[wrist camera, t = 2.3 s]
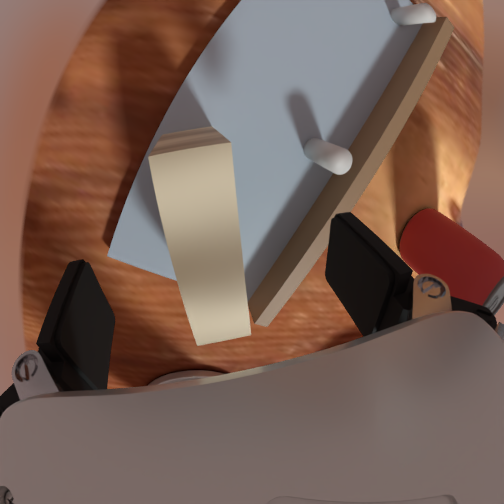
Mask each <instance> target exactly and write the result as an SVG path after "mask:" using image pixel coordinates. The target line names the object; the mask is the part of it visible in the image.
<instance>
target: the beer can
mask: <svg viewBox="0 0 504 504" xmlns="http://www.w3.org/2000/svg"><path fill="white" fill-rule="evenodd" d="M400 254H401V257H402V259H403V260H404V261H405V262H406V263H407V264H408V265H409V266H410V267H411V268H412V269H413V270H414V271H415V272H417V273H418V274H419V275H420V274H432V275H434V276H437V277H439V278H440V279H442V280H443V281H444V282H445V283H446V284H447V286H448V288H449V291H450V296H453V297H456V298H459V299H463V300H466V301H469V302H472V303H475V304H479V305H482V306H484V307H487V308H488V309H489V310H490V311H491V312H492V313H493V315H495V314H496V313H497V312H498V310H499V309H500V308H501V306H502V305H503V303H504V260H503V259H502V258H501V257H500V256H499V254H497V253H496V252H495V251H494V250H492V249H491V248H490V247H488V246H487V245H486V244H484V243H483V242H482V241H480V240H479V239H478V238H476V237H475V236H474V235H472V234H471V233H469V232H468V231H467V230H465V229H464V228H462V227H461V226H459V225H458V224H457V223H455V222H454V221H452V220H451V219H449V218H448V217H446V216H444V215H443V214H441V213H440V212H438V211H437V210H435V209H429V208H427V209H424V210H421V211H419V212H418V213H417V214H415V215H414V216H413V217H412V218H411V219H410V221H409V222H408V223H407V225H406V227H405V229H404V230H403V233H402V236H401V239H400Z"/></svg>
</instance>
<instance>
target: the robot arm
mask: <svg viewBox="0 0 504 504" xmlns="http://www.w3.org/2000/svg"><path fill="white" fill-rule="evenodd" d="M412 272H413V270H412V269H411V268H410V267H409V266H408V265H407V264H406V263H405V262H404V261H403V260H402V259H401V258H400V257H399V256H398V255H397V254H396V253H395V252H394V251H393V250H392V249H391V248H389V247H388V246H387V245H386V244H385V243H384V242H383V241H382V240H381V239H380V238H379V237H378V236H377V235H376V234H374V233H373V232H372V231H371V230H370V229H369V228H368V227H367V226H366V225H365V224H363V223H362V222H361V221H360V220H359V219H358V218H357V217H355V216H354V215H353V214H352V213H351V212H345V213H338V214H336V215H335V216H334V218H332V219H331V224H330V234H329V244H328V253H327V262H326V270H325V276H326V280H327V282H328V283H329V285H330V286H331V288H332V289H333V291H334V292H335V294H336V295H337V297H338V298H339V300H340V301H341V303H342V304H343V306H344V307H345V309H346V310H347V312H348V313H349V315H350V316H351V318H352V319H353V321H354V322H355V324H356V325H357V327H358V329H359V330H360V332H361V333H362V335H363V336H364V337H361V338H359V339H356V340H353V341H350V342H347V343H344V344H341V345H338V346H335V347H331V348H328V349H325V350H322V351H318V352H315V353H311V354H308V355H304V356H301V357H297V358H293V359H290V360H286V361H282V362H278V363H274V364H270V365H266V366H262V367H257V368H253V369H248V370H244V371H239V372H234V373H229V374H223V373H219V372H214V371H205V370H189V371H180V372H175V373H171V374H167V375H165V376H162V377H160V378H158V379H156V380H154V381H152V382H151V383H150V384H149V385H148V386H142V387H131V388H118V389H107V383H108V372H109V362H110V354H111V346H112V339H113V332H114V325H115V316H114V313H113V311H112V309H111V307H110V305H109V303H108V301H107V299H106V297H105V295H104V293H103V291H102V289H101V287H100V285H99V283H98V281H97V279H96V276H95V274H94V272H93V270H92V268H91V265H90V264H89V263H88V262H85V261H84V260H83V259H82V260H77V261H73V262H70V263H69V264H68V266H67V268H66V270H65V272H64V275H63V277H62V279H61V281H60V283H59V286H58V288H57V290H56V292H55V295H54V297H53V300H52V302H51V305H50V307H49V310H48V312H47V315H46V317H45V320H44V323H43V325H42V328H41V331H40V334H39V337H38V340H37V343H36V344H37V345H38V346H39V350H38V352H37V351H35V350H29V351H26V352H24V353H23V354H21V355H20V356H19V357H18V358H17V360H16V361H15V363H14V365H13V368H12V378H13V381H14V383H13V384H12V385H11V386H10V387H9V388H8V389H7V390H6V391H5V392H4V393H3V394H2V395H1V396H0V504H504V324H502V323H500V322H499V323H498V324H497V322H496V318H495V316H494V315H493V313H492V312H491V311H490V310H489V309H488V308H487V307H484V306H482V305H479V304H475V303H472V302H469V301H466V300H463V299H459V298H456V297H453V296H450V291H449V288H448V286H447V284H446V283H445V282H444V281H443V280H442V279H440V278H439V277H437V276H434V275H432V274H420V275H418V276H416V278H415V279H414V278H413V277H412V276H411V275H412Z"/></svg>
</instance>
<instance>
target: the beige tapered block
mask: <svg viewBox="0 0 504 504" xmlns="http://www.w3.org/2000/svg"><path fill="white" fill-rule="evenodd" d="M148 159H149V164H150V169H151V175H152V180H153V185H154V189H155V194H156V199H157V204H158V208H159V212H160V217H161V221H162V225H163V230H164V234H165V238H166V242H167V246H168V250H169V253H170V257H171V261H172V265H173V268H174V272H175V276H176V279H177V283H178V286H179V290H180V293H181V296H182V300H183V303H184V306H185V309H186V313H187V316H188V319H189V322H190V325H191V328H192V331H193V334H194V337H195V340H196V343H197V346H198V345H204V344H209V343H214V342H219V341H224V340H229V339H234V338H239V337H243V336H248V335H251V329H250V320H249V311H248V302H247V293H246V284H245V275H244V265H243V256H242V246H241V236H240V227H239V217H238V207H237V197H236V187H235V177H234V166H233V156H232V145H231V142H230V141H229V140H228V139H227V138H225V137H224V136H223V135H222V134H221V133H219V132H218V131H217V130H216V129H215V128H213V127H212V126H210V127H203V128H197V129H191V130H185V131H179V132H173V133H168V134H163V135H162V136H161V137H160V139H159V140H158V142H157V143H156V145H155V147H154V148H153V150H152V151H151V153H150V154H149V156H148Z"/></svg>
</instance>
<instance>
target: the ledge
mask: <svg viewBox="0 0 504 504" xmlns="http://www.w3.org/2000/svg"><path fill="white" fill-rule="evenodd" d="M453 29H454V26H453V25H452V24H451V22H450V21H449V19H448V18H447V17H437V18H436V14H435V12H434V10H433V8H432V7H431V6H430V5H429V4H427V3H421V4H415V5H414V4H413V3H412V2H411V1H410V0H241V1H240V3H239V4H238V5H237V6H236V7H235V9H234V10H233V11H232V12H231V14H230V15H229V16H228V18H227V19H226V20H225V21H224V23H223V24H222V25H221V27H220V28H219V29H218V31H217V32H216V34H215V35H214V36H213V38H212V39H211V41H210V42H209V43H208V45H207V46H206V48H205V49H204V51H203V52H202V54H201V55H200V57H199V58H198V60H197V61H196V63H195V64H194V66H193V68H192V69H191V71H190V72H189V74H188V76H187V77H186V79H185V81H184V82H183V84H182V86H181V87H180V89H179V91H178V93H177V94H176V96H175V98H174V100H173V101H172V103H171V105H170V107H169V109H168V110H167V112H166V114H165V116H164V118H163V120H162V122H161V124H160V126H159V128H158V130H157V132H156V134H155V136H154V138H153V140H152V142H151V144H150V146H149V148H148V150H147V152H146V155H145V157H144V159H143V161H142V164H141V166H140V168H139V170H138V173H137V175H136V177H135V180H134V182H133V185H132V187H131V190H130V192H129V195H128V197H127V200H126V202H125V205H124V208H123V210H122V213H121V216H120V219H119V222H118V224H117V227H116V230H115V233H114V236H113V239H112V242H111V246H110V249H109V252H108V255H107V256H108V257H111V258H114V259H116V260H119V261H122V262H125V263H127V264H130V265H133V266H136V267H138V268H141V269H144V270H147V271H150V272H153V273H156V274H158V275H161V276H164V277H167V278H170V279H173V280H176V281H177V279H176V276H175V272H174V268H173V265H172V261H171V257H170V253H169V250H168V246H167V242H166V238H165V234H164V230H163V225H162V221H161V217H160V212H159V208H158V204H157V199H156V194H155V189H154V185H153V180H152V175H151V169H150V164H149V159H148V156H149V154H150V153H151V151H152V150H153V148H154V147H155V145H156V143H157V142H158V140H159V139H160V137H161V136H162V135H163V134H168V133H173V132H179V131H185V130H191V129H197V128H203V127H210V126H212V127H213V128H215V129H216V130H217V131H218V132H219V133H221V134H222V135H223V136H224V137H225V138H227V139H228V140H229V141H230V142H231V145H232V156H233V166H234V177H235V187H236V197H237V207H238V217H239V227H240V236H241V246H242V256H243V265H244V275H245V284H246V293H247V302H248V306H249V309H250V312H251V315H252V318H253V321H254V324H258V325H262V326H266V327H267V326H268V325H269V324H270V322H271V321H272V320H273V319H274V317H275V316H276V315H277V313H278V312H279V311H280V310H281V308H282V307H283V306H284V304H285V303H286V302H287V300H288V299H289V298H290V296H291V295H292V294H293V292H294V291H295V290H296V288H297V287H298V286H299V284H300V283H301V282H302V280H303V279H304V278H305V276H306V275H307V274H308V272H309V271H310V269H311V268H312V267H313V265H314V264H315V262H316V261H317V260H318V258H319V257H320V255H321V254H322V253H323V251H324V250H325V248H326V247H327V246H328V244H329V234H330V224H331V219H332V218H334V216H335V215H336V214H338V213H345V212H351V210H352V209H353V207H354V206H355V204H356V203H357V201H358V200H359V198H360V197H361V195H362V194H363V192H364V191H365V189H366V187H367V186H368V184H369V183H370V181H371V180H372V178H373V176H374V175H375V173H376V172H377V170H378V168H379V167H380V165H381V164H382V162H383V160H384V159H385V157H386V155H387V154H388V152H389V150H390V149H391V147H392V145H393V144H394V142H395V140H396V139H397V137H398V135H399V134H400V132H401V130H402V128H403V127H404V125H405V123H406V121H407V120H408V118H409V116H410V114H411V113H412V111H413V109H414V107H415V105H416V104H417V102H418V100H419V98H420V96H421V94H422V92H423V91H424V89H425V87H426V85H427V83H428V81H429V79H430V77H431V75H432V73H433V71H434V69H435V67H436V65H437V63H438V61H439V59H440V57H441V55H442V53H443V51H444V49H445V47H446V45H447V43H448V40H449V38H450V36H451V34H452V32H453Z"/></svg>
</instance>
